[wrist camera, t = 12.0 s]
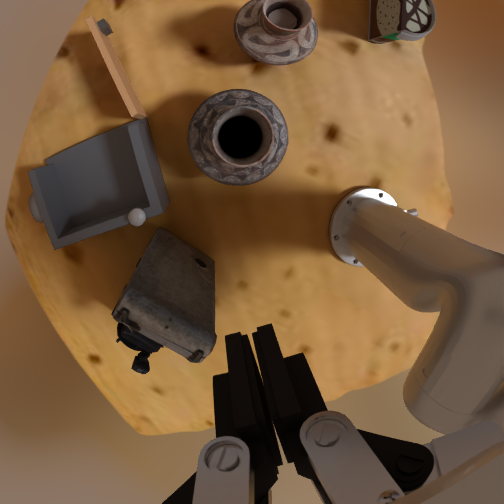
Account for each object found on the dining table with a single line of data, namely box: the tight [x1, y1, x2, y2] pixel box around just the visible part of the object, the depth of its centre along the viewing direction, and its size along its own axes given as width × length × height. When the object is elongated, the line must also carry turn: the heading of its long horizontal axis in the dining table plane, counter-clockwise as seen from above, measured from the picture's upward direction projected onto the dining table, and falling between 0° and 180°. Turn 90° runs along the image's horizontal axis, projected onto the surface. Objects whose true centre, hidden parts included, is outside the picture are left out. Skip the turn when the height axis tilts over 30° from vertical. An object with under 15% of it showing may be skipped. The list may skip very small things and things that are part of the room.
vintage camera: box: [111, 227, 217, 374], centre depth 34 cm, size 10×16×20 cm, turn 143°
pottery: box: [188, 0, 318, 186], centre depth 30 cm, size 11×25×12 cm, turn 163°
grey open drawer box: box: [28, 118, 170, 250], centre depth 33 cm, size 18×12×7 cm
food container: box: [368, 0, 436, 44], centre depth 28 cm, size 12×6×10 cm, turn 173°
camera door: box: [86, 16, 147, 120], centre depth 28 cm, size 16×2×5 cm, turn 25°
